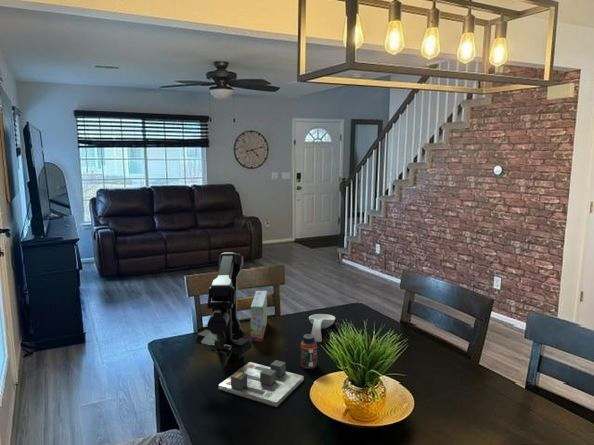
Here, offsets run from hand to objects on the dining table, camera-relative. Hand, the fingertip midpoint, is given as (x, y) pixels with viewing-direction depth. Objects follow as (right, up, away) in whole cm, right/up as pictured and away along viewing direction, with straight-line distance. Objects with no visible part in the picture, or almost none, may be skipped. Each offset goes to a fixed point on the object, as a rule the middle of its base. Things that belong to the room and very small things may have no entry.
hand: (224, 366), depth 147 cm
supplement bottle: (+28, -5, +15) cm, 32 cm away
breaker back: (+18, -4, +6) cm, 19 cm away
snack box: (+8, 0, +45) cm, 46 cm away
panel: (+12, -7, +2) cm, 14 cm away
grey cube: (+5, -6, -2) cm, 8 cm away
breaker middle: (+14, -5, 0) cm, 16 cm away
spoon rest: (+34, 0, +46) cm, 57 cm away
